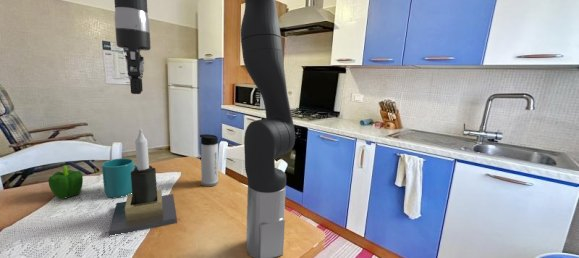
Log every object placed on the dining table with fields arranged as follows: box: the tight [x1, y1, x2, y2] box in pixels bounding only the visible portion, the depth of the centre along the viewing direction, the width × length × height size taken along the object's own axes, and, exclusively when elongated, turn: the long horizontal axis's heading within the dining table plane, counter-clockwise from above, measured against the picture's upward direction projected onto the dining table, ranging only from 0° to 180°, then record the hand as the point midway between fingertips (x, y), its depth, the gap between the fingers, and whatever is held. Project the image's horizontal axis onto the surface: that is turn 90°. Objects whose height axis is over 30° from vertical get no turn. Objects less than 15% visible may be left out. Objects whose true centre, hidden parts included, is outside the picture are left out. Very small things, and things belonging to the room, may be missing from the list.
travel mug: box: [199, 134, 219, 187], centre depth 95 cm, size 6×7×20 cm
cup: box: [101, 157, 137, 198], centre depth 86 cm, size 9×12×11 cm
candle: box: [131, 128, 158, 205], centre depth 70 cm, size 5×5×25 cm
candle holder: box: [107, 188, 178, 237], centre depth 73 cm, size 16×16×6 cm
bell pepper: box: [48, 164, 84, 199], centre depth 81 cm, size 8×8×10 cm
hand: (137, 92), depth 66 cm, fingers open, 8 cm apart
